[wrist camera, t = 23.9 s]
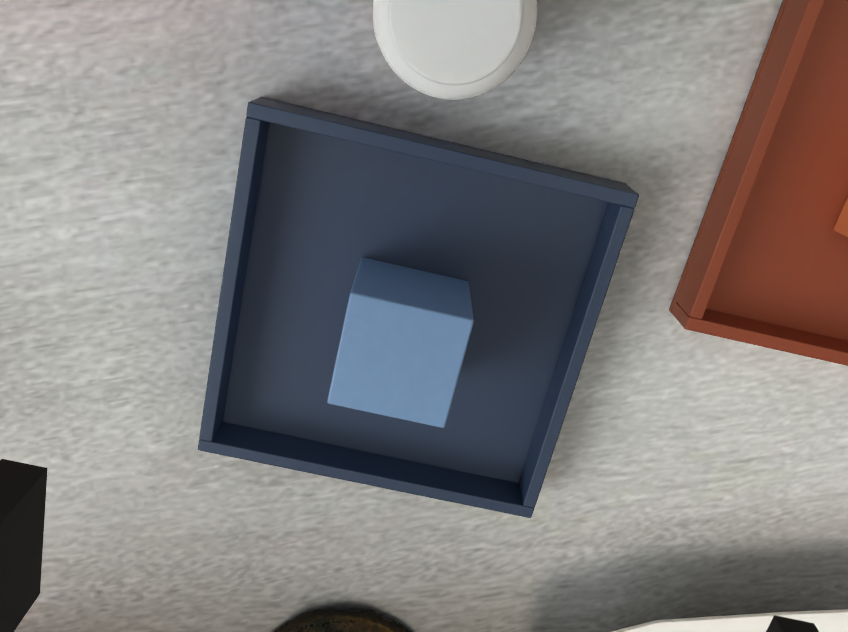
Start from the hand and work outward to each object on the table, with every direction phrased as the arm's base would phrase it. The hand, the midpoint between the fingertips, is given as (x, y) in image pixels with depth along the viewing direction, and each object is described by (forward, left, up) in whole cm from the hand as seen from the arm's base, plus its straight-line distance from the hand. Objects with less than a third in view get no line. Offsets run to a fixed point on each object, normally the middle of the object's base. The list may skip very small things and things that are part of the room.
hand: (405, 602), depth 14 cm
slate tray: (+3, 0, -23) cm, 23 cm away
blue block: (+3, 0, -22) cm, 22 cm away
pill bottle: (-10, -1, -23) cm, 25 cm away
